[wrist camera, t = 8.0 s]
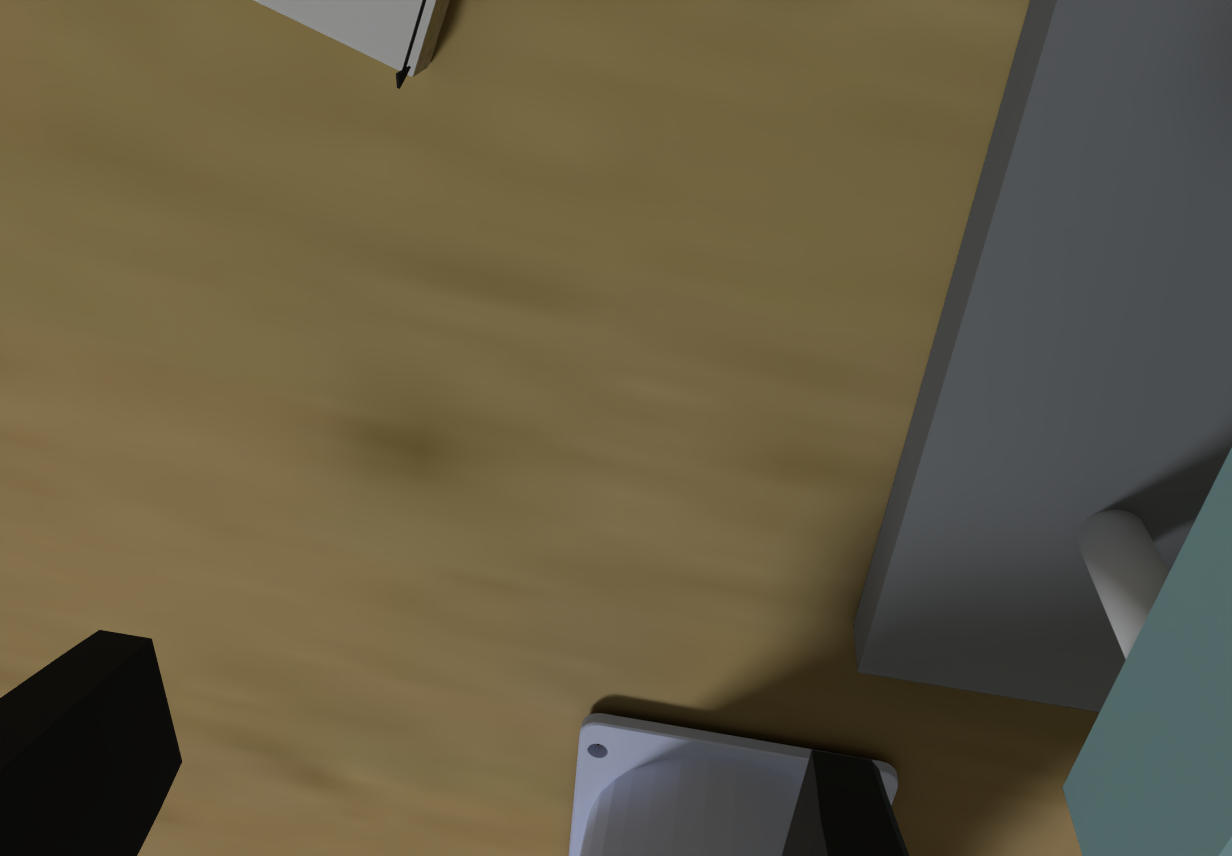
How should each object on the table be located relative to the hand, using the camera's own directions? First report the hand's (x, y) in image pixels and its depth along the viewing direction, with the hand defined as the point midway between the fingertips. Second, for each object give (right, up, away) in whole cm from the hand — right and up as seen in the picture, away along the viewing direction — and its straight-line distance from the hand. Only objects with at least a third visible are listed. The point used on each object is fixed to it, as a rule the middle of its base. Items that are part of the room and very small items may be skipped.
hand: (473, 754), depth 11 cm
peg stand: (+13, +6, +7) cm, 15 cm away
